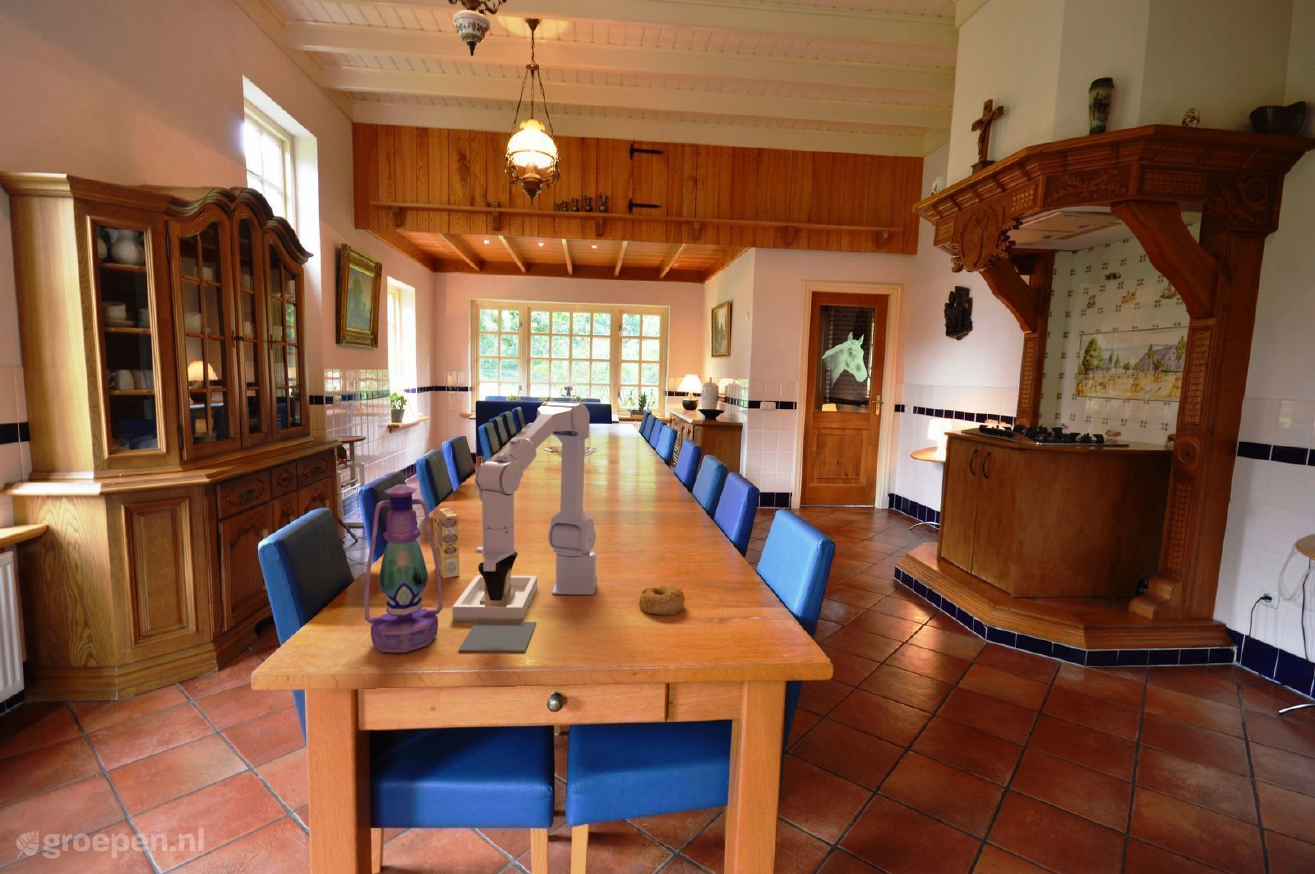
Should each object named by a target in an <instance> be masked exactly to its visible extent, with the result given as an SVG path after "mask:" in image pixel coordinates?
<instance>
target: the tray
mask: <svg viewBox="0 0 1315 874" xmlns="http://www.w3.org/2000/svg"><path fill="white" fill-rule="evenodd" d="M537 590H538V575H511V600H510V601H509V603H508V605H507V607H485V588H484V578H483V576H482V575H481V574H480V575H478V574H477V575H475V576H474V577H473V579H472V581H471V582H470V583H469V585H468V586H467V587H466V588H465V589H464V591H463V592H462V593H461V595H460V597H459V598H458V599H457V600H456V602H454V604H453V605H452V621H453V622H476V621H484V622H524V619H525V617H526V615H527V613H528V612H527V611H528V610H529V607H530V605H531V603H532V600H533V598H534V596H535V594H536V591H537Z"/></svg>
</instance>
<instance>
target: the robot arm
mask: <svg viewBox="0 0 1315 874" xmlns="http://www.w3.org/2000/svg"><path fill="white" fill-rule="evenodd" d="M551 435H552V436H554V437H556V438H557V439H558V441H560V443H561V471H560V472H561V473H560V474H561V476H560V510H559V511H558V512H557V513H556V514H554V515H553V516H552V517H551V518H550V525H549V526H550V527H549V528H548V529H549V530H548V533H547V541H548V544H549V546H550V547H551V548H552V552H553V553H555V583H554V587H553V588H552V592H551V593H552V595H582V596H583V595H587V596H588V595H591V596H593V595H595V590H596V586H597V583H598V575H597V551H591V550H593V548H594V546H595V544H596V537H597V536H596V535H597V534H596V531H595V523H594V518H593V517H592V516H590V514H588V513H587V512H586V511H585V510H584V485H585V483H584V481H585V480H584V479H585V456H586V454H585V453H586V452H585V450H586V448H585V447H586V440H587V439H589V438H590V411H589V410H588V407H587V406H586V405H585V404H584V403H581V402H579V403H578V402H577V403H576V402H575V403H574V402H573V403H572V402H554V401H549V400H548V401H544V402H542V403H541V405H540V407H538V408H537V411H536V419H535V420H534V421H533V423H532V424H531V426H529V428H528V429H527V431H526V432H525V434H524V435H523V436H522V437H521V436H520V437H518V436H517V437H512V438H511V439H510V440H509V442H508V444H507V445H506V446H505V447H504V448H503V449H502V450H501V451H500V452H499V453H498V454H497V456H495V457H494V458H493V460H492V461H491V460H489V461H486V462H483V463H482V464H481V465H480V466H479V467H478V468H477V471H476V474H475V477H474V479H473V480H474V484H475V488H476V489H477V490H478V498H479V500H480V501H481V503H482V504H481V506H482V507H481V508H482V509H481V516H482V523H481V524H482V525H481V527H482V545H481V546H480V545H479V546H477V548H475V550H476V551H475V552H476V554H481V555H482V558H483V561H482V562H480V563H479V564H478V566H477V567H478V572H479V573H480V575H482V576H483V578H484V581H485V583H486V587H487V591H488V595H489V598H490V600H491V601H501V600H502V597H503V593H504V586H505V580H506V576H507V573H508V570H509V569H511V571H512V570H513V566H514V564H515V561H516V559H517V558H518V552H517V551H516V546H515V492H516V491H518V489H519V487H520V484H521V480H522V478H523V476H524V472H525V470H527V468H528V467H529V466H530V465H531V463H532V462H533V461H534V460H535V459H536V457H537V448H539V447H540V446H541V444H543V443H544V442H545V441H546V440H547V439H548V438H549V437H550V436H551Z"/></svg>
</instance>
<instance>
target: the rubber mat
mask: <svg viewBox="0 0 1315 874" xmlns="http://www.w3.org/2000/svg"><path fill="white" fill-rule="evenodd" d="M536 625H537V622H536V621H522V622H513V621H475V623H474V624H473V626H472V627H471V629H470V630H469V633H468V634H467V636H466V637H465V639H464V641H463V642H462V643H461V645H460V646H459V648H458V650H457V651H458V653H521V654H522V653H526V651H527V649H528V646H529V644H530V641H531V639H532V636H533V633H534V631H535V628H536Z"/></svg>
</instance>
